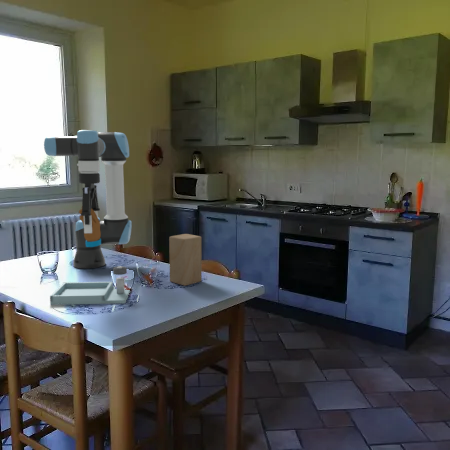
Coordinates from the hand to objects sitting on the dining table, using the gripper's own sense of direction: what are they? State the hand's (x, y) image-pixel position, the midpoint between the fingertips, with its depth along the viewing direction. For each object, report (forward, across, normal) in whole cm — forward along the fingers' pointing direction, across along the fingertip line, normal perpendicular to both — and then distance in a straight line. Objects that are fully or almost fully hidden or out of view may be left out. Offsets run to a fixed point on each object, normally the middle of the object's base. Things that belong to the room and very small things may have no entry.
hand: (91, 230), depth 172 cm
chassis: (+26, 0, 0) cm, 26 cm away
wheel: (+17, +1, +10) cm, 20 cm away
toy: (+6, 0, 0) cm, 6 cm away
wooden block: (+26, -18, +36) cm, 48 cm away
